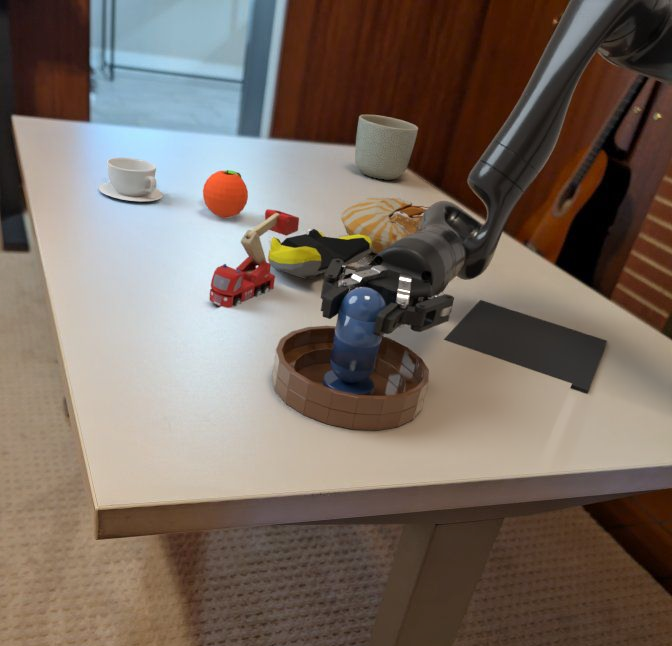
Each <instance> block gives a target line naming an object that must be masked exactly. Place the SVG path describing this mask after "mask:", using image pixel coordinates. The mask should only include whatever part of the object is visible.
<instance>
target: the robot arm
mask: <svg viewBox="0 0 672 646" xmlns="http://www.w3.org/2000/svg"><path fill="white" fill-rule="evenodd" d="M596 53H597V54H599V56H600V57H601V58H602V59H604V61H607V62H608V63H610V64H611V65H613V66H615V67H618V68H621V69H624V70H626V71H629V72H632V73H635V74H638V75H641V76H644V77H646V78H649V79H652V80H655V81H658V82H661V83H662V84H665V85H667V86H670V87H672V0H569V2H568V4H567V6H566V8H565V10H564V12H563V14H562V16H561V18H560V19H559V22H558V24H557V26H556V27H555V30H554V32H553V33H552V35H551V37H550V39H549V41H548V43H547V45H546V47H545V48H544V51H543V53H542V55H541V57H540V59H539V61H538V63H537V64H536V67H535V68H534V70H533V72H532V74H531V77H530V78H529V81H528V83H527V84H526V86H525V88H524V90H523V91H522V93H521V94H520V97H519V99H517V102H516V103H515V105H514V107H513V109H512V110H511V112H510V114H509V115H508V117H507V118H506V120H505V121H504V123H503V124H502V126H501V127H500V129H498V132H497V133H496V134H495V135H494V137H493V138H492V140H491V141H490V143H489V144H488V146H487V147H486V149H485V150H484V151H483V153H482V155H481V156H480V157H479V159H478V160H477V161H476V163H475V164H474V166H473V167H472V169H471V170H470V172H469V174H468V176H467V179H466V180H467V185H468V187H469V188H470V190H472V192H473V193H474V194H475V195H476V196H477V197H478V199H480V201H481V202H482V203H483V205H484V207H485V209H486V219H485V222H484V223H482V222H480V221H479V220H477V219H476V218H475V217H473V216H472V215H471V214H470V213H468V212H467V211H465V210H464V209H463V208H461V207H460V206H458V205H457V204H455V203H453V202H451V201H448V200H440V201H436V202H435V203H433V204H432V205H430V206H428V207H429V208H426V209H427V210H426V212H425V213H422V215H421V216H422V217H421V219H420V221H419V223H418V225H417V228H416V231H415V233H413V234H410V235H407V236H405V237H403V238H402V239H400V240H398V241H397V242H395V243H393V244H392V245H390V246H389V247H387V248H385V249H384V250H382V251H381V252H379V253H378V254H375V256H374V257H373V259H372V260H371V261H370V263H369V264H368V265H362V266H359V267H357V268H356V269H355V270H354V269H351V268H347V265H343V263H344V261H342V260H340V259H333V260H332V261H331V263H330V265H329V267H328V269H327V271H326V272H324V273H323V281H322V286H321V291H320V299H321V300H322V301H321V306H320V312H322V317H323V318H326V319H328V320H331V319H332V318H334V317H336V316H338V312H339V307H340V304H341V301H342V299H343V297H344V296H345V295H346V294H347V293H348V292H350V291H351V290H353V289H355V288H359V287H368V288H372V289H374V290H376V291H377V292H379V293H380V294H381V295H382V297H383V298H384V300H385V302H386V305H387V307H385V308H384V309H383V310H382V311H380V312H379V313H378V315H377V318H376V322H375V327H374V332H373V334H374V335H377V336H380V337H381V336H382V335H383V336H384V335H385V334H386V335H389V334H392V333H393V332H395V331H396V330H397V329H402V328H404V326H405V325H406V326H410V327H409V328H410V330H411V331H412V332H417V333H421V332H424V331H426V330H429V329H431V328H434V327H437V326H439V325H442V324H444V323H447V322H449V319H450V316H451V312H452V309H453V305H454V301H455V297H454V296H453V295H451V294H447V293H446V294H442V293H443V292H444V291H445V290H446V288H447V286H449V284H450V283H451V282H452V281H453V280H454V279H455V278H456V277H457V278H458V279H460V280H463V281H469V280H473V279H476V278H478V277H479V276H481V275H482V274H483V273H484V272H485V271H486V270H487V268H488V267H489V266H490V264H491V262H492V260H493V258H494V255H495V253H496V250H497V247H498V245H499V242H500V239H501V237H502V234H503V232H504V229H505V227H506V225H507V223H508V220H509V219H510V217H511V215H512V213H513V211H514V209H515V208H516V206H517V204H518V203H519V202H520V200H521V198H522V197H523V195H524V194H525V193H526V192H527V190H528V189H529V188H530V187H531V185H532V184H533V182H534V181H535V180H536V178H537V176H538V175H539V174H540V173H541V171H542V170H543V168H544V167H545V165H546V164H547V162H548V161H549V158H550V157H551V155H552V153H553V152H554V150H555V147H556V145H557V143H558V140H559V137H560V135H561V131H562V128H563V125H564V122H565V120H566V115H567V114H568V113H567V112H568V109H569V106H570V103H571V100H572V98H573V94H574V92H575V90H576V87H577V85H578V83H579V81H580V79H581V78H582V75H583V74H584V71H585V70H586V68H587V67H588V64H589V63H590V62H591V60H592V58H593V57H594V56H595V54H596Z"/></svg>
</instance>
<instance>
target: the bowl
mask: <svg viewBox="0 0 672 646" xmlns="http://www.w3.org/2000/svg"><path fill="white" fill-rule="evenodd" d="M335 329H336V325H318V326H317V325H316V326H307V327H304V328H299V329H295V330H293V331H291V332H288V333H287V334H286V335H284V336H283V337H281V338H280V339H279V341H278V343H277V346H276V348H275V352H274V360H273V367H272V375H271V382H272V386H273V389H274V392H275V393H276V394H277V395H278V397H279V398H280V399H281V400H282V401H283V403H285V404H286V405H287V406H288V407H290V408H292V409H293V410H295V411H296V412H298V413H300V414H302V415H303V416H305V417H308V418H311V419H313V420H316V421H318V422H321V423H323V424H326V425H330V426H334V427H339V428H343V429H344V428H345V429H349V430H361V431H381V430H389V429H393V428H399V427H401V426H403V425H404V424H406V423H409V422H411V421H413V420H414V419H415V418H416V416H417V415H418V414H419V413H420V412H421V410H422V408H423V403H424V400H425V396H426V393H427V390H428V389H427V388H428V385H429V381H430V369H429V368H428V366H427V365H426V363H425V361H424V360H423V358H422V357H421V356H419V355H418V354H417V353H415V352H414V351H413V350H412V349H410V348H409V347H408V346H406V345H403V344H402V343H400V342H398V341H396V340H394V339H392V338H389V337H387V336H384V335H383V336H382V341H381V345H380V350H379V354H378V359H377V363H376V367H375V370H374V372H373V373H372V375H371V376H370V377H369V378H371V379H372V381H373V382H374V391H373V395H372V396H369V395H356V394H352V393H347V392H342V391H337V390H334V389H331V388H328V387H326V386H323V385H322V383H323V377H324V375H325V373H326V372H328V371H330V370H332V368H331V364H330V356H331V350H332V345H333V339H334V334H335Z"/></svg>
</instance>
